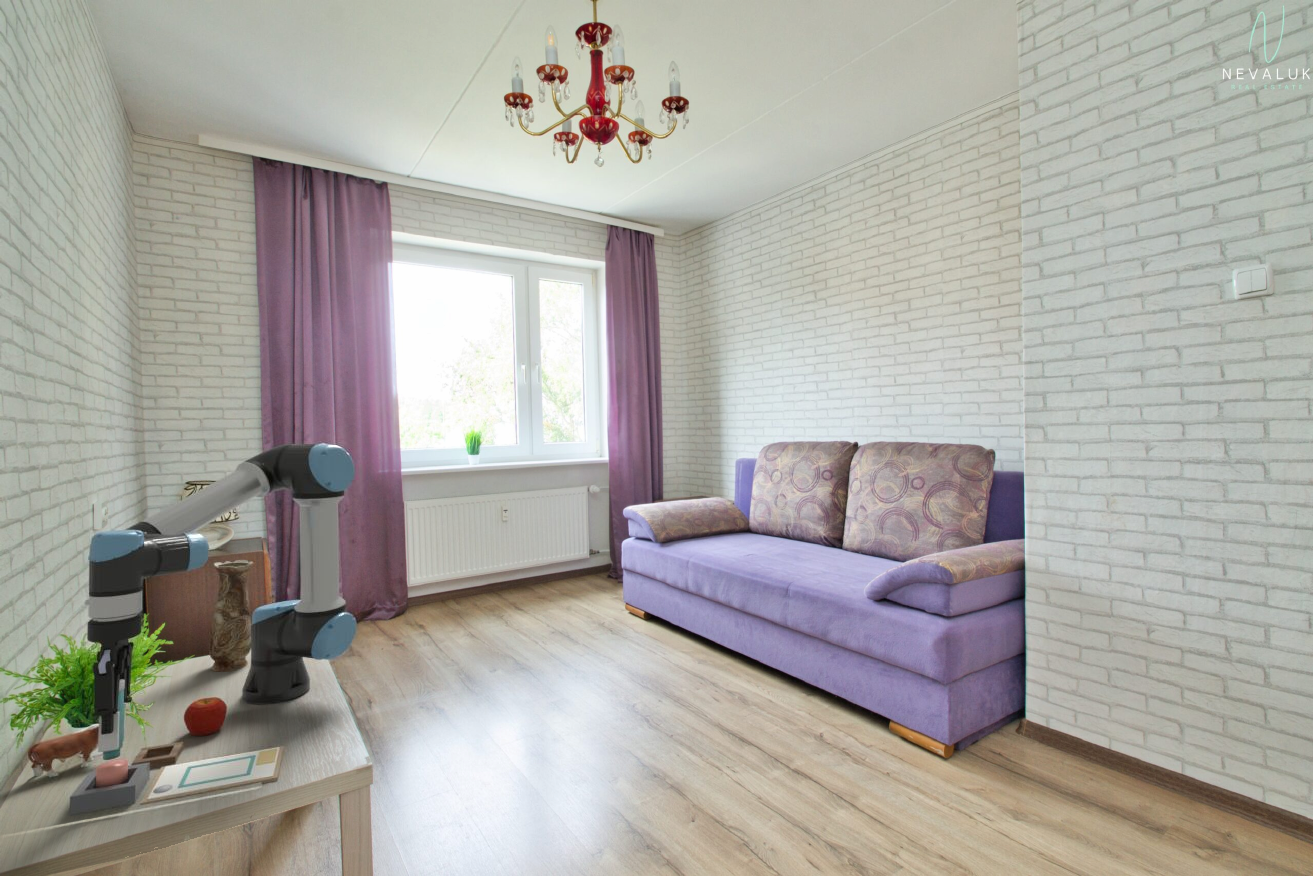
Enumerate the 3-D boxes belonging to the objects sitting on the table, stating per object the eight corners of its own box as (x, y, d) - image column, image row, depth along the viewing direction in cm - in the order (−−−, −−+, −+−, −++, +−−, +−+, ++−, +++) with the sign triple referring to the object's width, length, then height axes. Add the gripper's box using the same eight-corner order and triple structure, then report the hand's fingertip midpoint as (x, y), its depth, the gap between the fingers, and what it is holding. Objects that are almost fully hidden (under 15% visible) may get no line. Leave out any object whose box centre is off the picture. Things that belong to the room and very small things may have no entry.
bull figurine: (120, 760, 129) (121, 720, 129) (27, 786, 119) (28, 742, 119) (116, 753, 132) (117, 714, 132) (25, 778, 122) (26, 735, 122)
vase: (238, 657, 191) (240, 558, 191) (260, 663, 186) (261, 561, 186) (200, 668, 182) (202, 563, 182) (221, 675, 177) (223, 567, 177)
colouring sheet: (161, 769, 126) (161, 765, 126) (284, 748, 135) (284, 744, 135) (140, 806, 113) (140, 801, 113) (277, 780, 122) (277, 775, 122)
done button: (100, 778, 117) (101, 762, 117) (130, 773, 118) (131, 757, 119) (91, 790, 113) (92, 773, 113) (123, 784, 115) (123, 768, 115)
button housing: (88, 791, 118) (89, 772, 118) (149, 780, 122) (149, 762, 122) (69, 817, 110) (70, 796, 110) (135, 805, 113) (135, 785, 113)
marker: (125, 751, 118) (127, 678, 118) (119, 759, 115) (121, 683, 115) (103, 754, 116) (105, 680, 116) (97, 762, 113) (99, 686, 114)
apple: (189, 745, 136) (190, 708, 136) (178, 734, 141) (179, 699, 141) (231, 732, 142) (232, 697, 142) (219, 722, 147) (219, 688, 147)
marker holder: (141, 757, 131) (141, 748, 131) (183, 750, 134) (183, 741, 134) (131, 773, 124) (131, 763, 124) (175, 765, 127) (175, 756, 127)
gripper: (104, 608, 121) (100, 731, 121) (71, 629, 107) (67, 770, 107) (153, 604, 125) (150, 724, 124) (127, 625, 110) (123, 761, 110)
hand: (111, 745), depth 116 cm, fingers closed on marker, 3 cm apart
